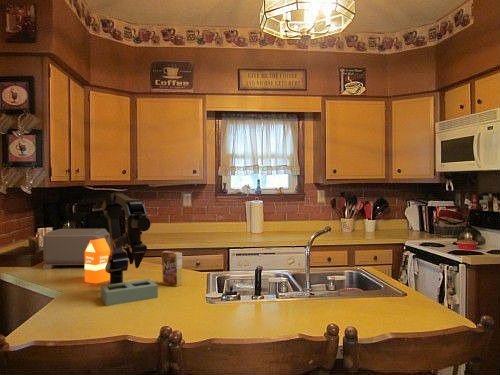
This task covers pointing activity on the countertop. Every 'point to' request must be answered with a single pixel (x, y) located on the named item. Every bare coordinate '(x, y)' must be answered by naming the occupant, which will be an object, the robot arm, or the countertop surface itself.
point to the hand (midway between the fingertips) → (134, 266)
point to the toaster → (69, 246)
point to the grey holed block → (128, 292)
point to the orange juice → (96, 261)
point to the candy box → (172, 268)
